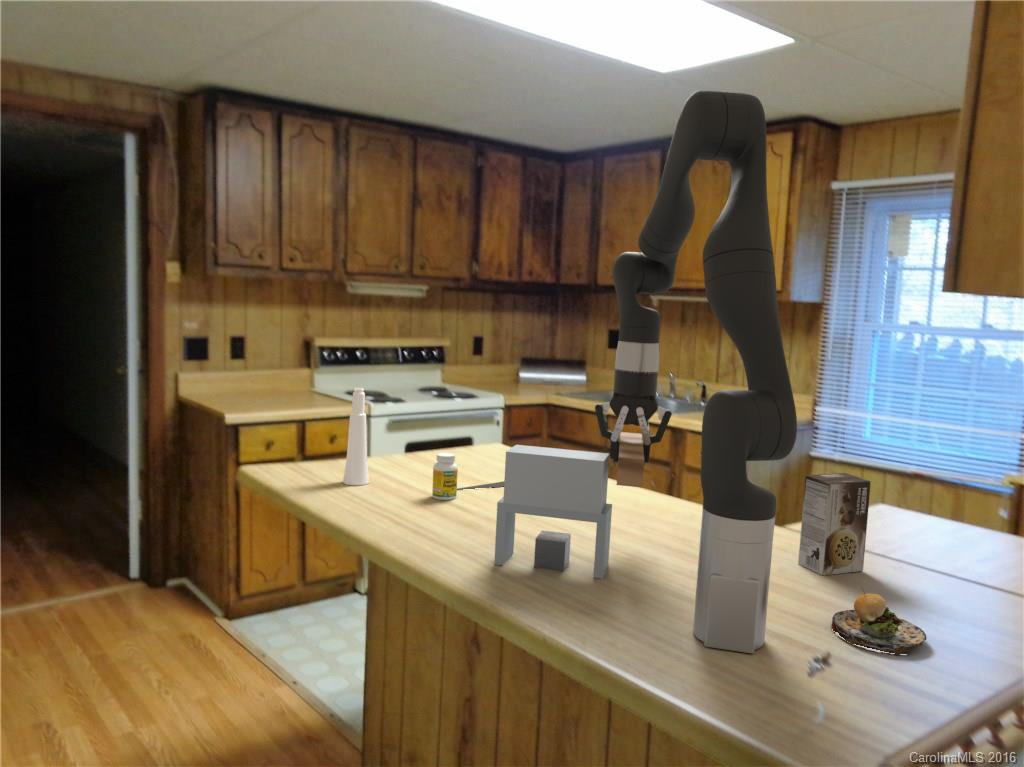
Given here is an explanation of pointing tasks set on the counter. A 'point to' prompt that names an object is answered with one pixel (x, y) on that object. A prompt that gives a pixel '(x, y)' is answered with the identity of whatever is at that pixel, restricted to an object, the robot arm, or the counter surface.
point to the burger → (876, 626)
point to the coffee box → (834, 523)
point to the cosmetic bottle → (357, 443)
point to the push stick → (630, 460)
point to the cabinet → (555, 494)
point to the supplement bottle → (445, 477)
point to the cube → (552, 550)
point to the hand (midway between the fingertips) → (629, 462)
